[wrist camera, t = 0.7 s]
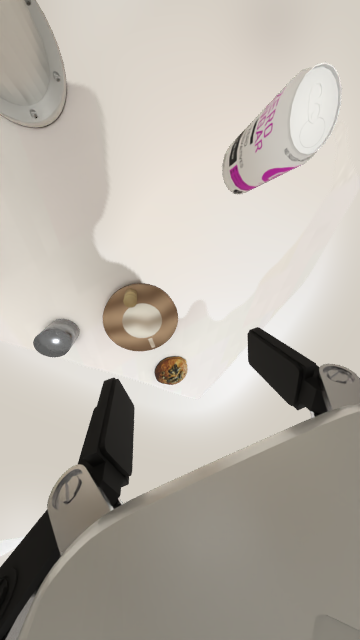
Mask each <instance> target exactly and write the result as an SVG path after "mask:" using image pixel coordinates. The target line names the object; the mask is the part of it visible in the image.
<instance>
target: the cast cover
mask: <svg viewBox="0 0 360 640" xmlns="http://www.w3.org/2000/svg"><path fill="white" fill-rule="evenodd" d="M78 335H79V328H78V326H77V325H76V324H75V323H74V322H72V321H70V320H66V319H58V320H55V321H53V322H52V323H51V324H50V325H48V326H47V327H46V328H45V329H44V330H43V331H42V332H41V333H40V334H39V335H37V336H36V337H35V339H34V342H33V344H34V347H35V349H36V350H37V351H38V352H39V353H41V354H43V355H45V356H49V357H60V356H63V355H65V354H66V353H67V352H68V351H69V349H70V348H71V346H72V345H73V343H74V342H75V340H76V339H77V337H78Z"/></svg>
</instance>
